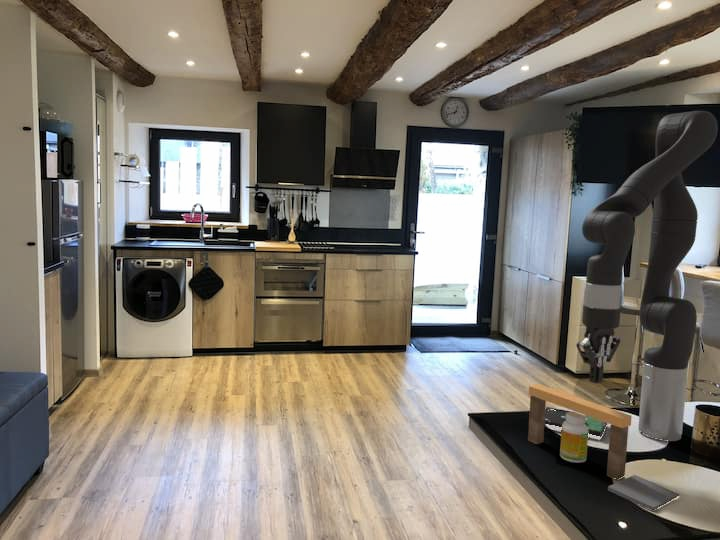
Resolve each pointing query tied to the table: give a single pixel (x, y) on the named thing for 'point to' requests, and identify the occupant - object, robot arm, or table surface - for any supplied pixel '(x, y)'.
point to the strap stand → (615, 440)
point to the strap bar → (581, 406)
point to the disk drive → (559, 418)
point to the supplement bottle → (574, 438)
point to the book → (643, 492)
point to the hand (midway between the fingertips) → (595, 382)
